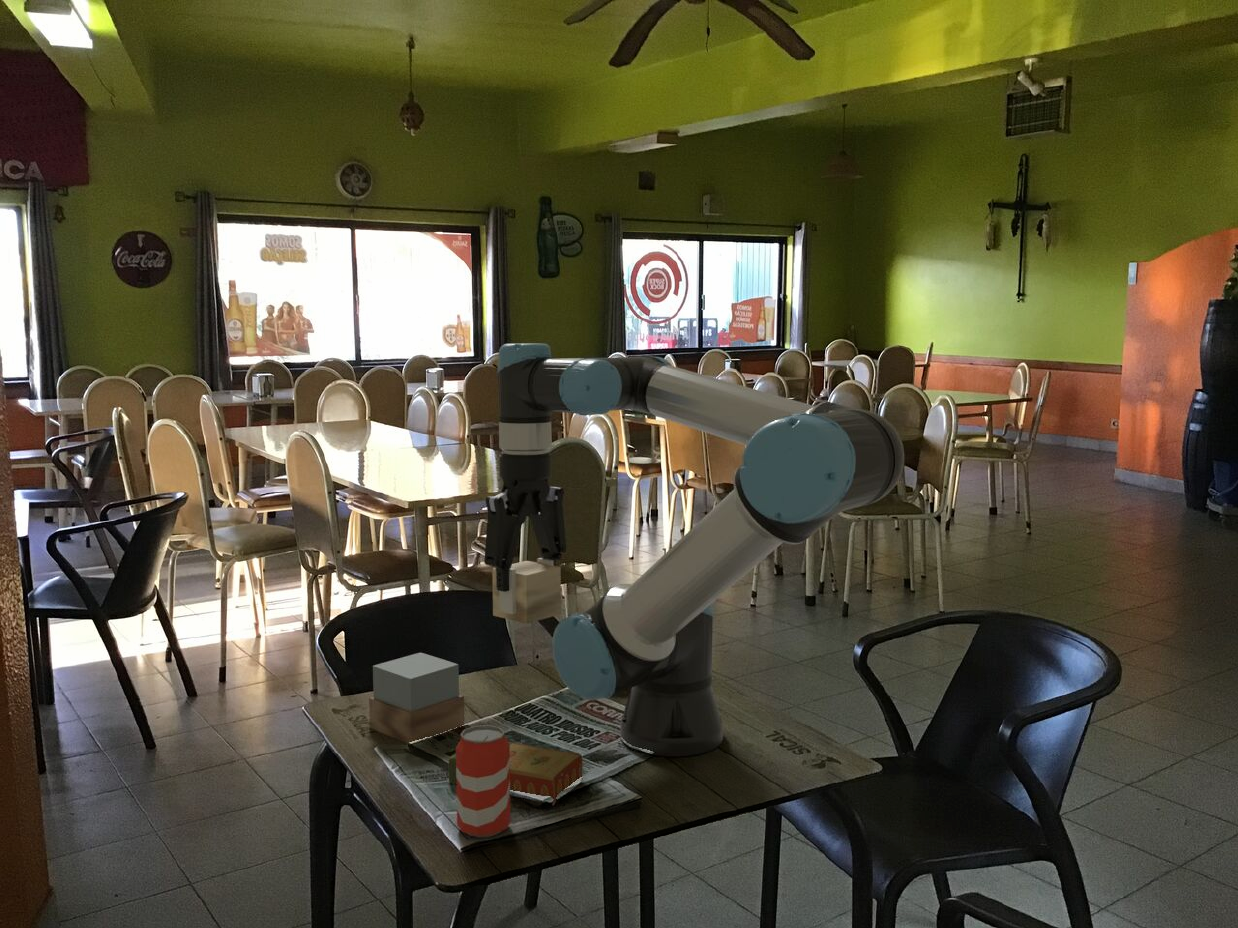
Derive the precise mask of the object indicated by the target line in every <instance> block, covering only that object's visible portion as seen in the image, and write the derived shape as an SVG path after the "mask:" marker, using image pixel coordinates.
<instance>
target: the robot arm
mask: <svg viewBox="0 0 1238 928" xmlns="http://www.w3.org/2000/svg"><path fill="white" fill-rule="evenodd" d="M496 376H497V385H498V386H497V387H498V388H497V393H498V436H499V437H498V439H499V440H498V441H499V442H498V443H499V444H498V445H499V446H498V447H499V449H501V451H503V452H501V453H500V454H499V457H498V459H499V461H498V463H499V471H498V472H499V477H500V479H501V480H502V488H501V491H500V493H499V494H496V495H495V496H493V495H487V496H486V497H485V505H486V511H487V521H486V533H485V534H486V535H485V545H484V561H483V562H484V564H485V565H486V566H489V567H492V568H496V580H497V581H496V587H497V590H498V591H499V605H500V612H504V613H509V614H516V569H514V568H511V566H512V564H513V562H514V557H515V553H516V549H517V545H518V542H519V537H520V533H521V528H522V525H523V524H525V522H526V519H527V517H528V518H529V519H530V522H531V525H532V528H533V531H534V535H535V538H536V541H537V546H538V548H539V552H540V555H541V557H538V558H536V563H541V564H546V565H552V566H557V560H561V559H562V557H563V554H564V553H566V551H567V541H566V530H565V520H564V519H565V517H564V508H563V507H564V506H563V505H564V504H563V502H564V496H565V489H564V488H563V487H558V486H550V483H549V479H550V478H551V477H552V476H553V475H552V473H553V470H552V468H553V466H552V464H553V463H552V461H553V460H552V454H551V452H549V450H550V449H551V448H552V446H553V442H552V437H553V436H552V412H553V413H555V412H556V413H566V414H567V413H568V414H576V415H579V416H585V417H586V416H597V415H600V416H601V415H606V414H607V413H609V412H611V411H612V412H613V411H625V410H633V411H634V410H635V411H638V412H641V413H644V414H647V415H651V416H653V417H657V418H661V419H664V420H667V421H670V422H673V423H676V424H679V425H682V426H685V427H689V428H691V429H694V430H697V431H700V432H704V433H706V434H708V435H709V434H710V435H713V436H716V437H718V438H722V439H725V440H727V441H731V442H734V443H737V444H740V445H743V446H745V448H744V450H743V453H742V455H741V456H742V457H741V459H742V462H743V463H742V464H741V465H739V467H737V468H736V470H735V471H734V474H733V478H732V479H733V490H732V491H731V492H730V493H728V494H727V495H726V496H725V497H724V498H723V499H722V500H721V501H719V503H718V504H716V506H715V507H713V508H712V509H711V510H710V511H709V512H708V513H707V514H705V516H703V518H702V519H701V520H699V521H698V522H697V523H696V524H695V525H694V526H693V527H692V528H690V530H689V531H688V532H687V533H686V534H685V535H684V536H682V537H681V538H680V539H679V540H678V541H676V543H675V544H674V545H673V546H671V547H670V549H668V551H666V552H665V553H664V554H663V555H662V556H661V557H660V558H659V559H658V560H657V561H656V562H655V563H653V565H651V566H650V567H649V568H648V569H647V570H646V571H645V572H644V573H643V574H641V575H640V577H638V578H637V579H636V580H635V581H634V582H633V583H632V584H630V583H622V584H621V583H620V584H617V585H615V586H613V587H612V588H610V589H609V590H608V591H607V592H606V593H605V594H603V596H601V597H600V598H599V599H598V600H597V601H596V602H595V603H594V604H593V605H592V606H591V607H590V608H588V609H586V610H585V611H583V612H580V613H579V612H578V613H577V612H574V613H572V614H569V616H567V617H564V618H563V619H562V620H560V621H559V623H558V624H557V625H556V627H555V629H554V632H553V635H552V644H551V646H552V650H553V652H552V658H553V661H554V664H555V668H556V671H557V673H558V675H559V677H560V679H561V680H562V682H563V683H564V685H565V686H566V687H567V688H568V690H569V691H570V692H571V693H572V694H574V695H575V696H578V697H580V698H582V699H584V700H585V701H597V700H601V699H608V698H611V697H612V696H613V695H616V694H619V693H621V692H624V691H627V690H628V689H630V691H629V692H630V693H629V695H628V698H627V701H626V704H625V706H624V707H625V708H624V710H623V713H622V716H621V719H620V728H619V731H620V732H619V733H620V734H621V737H622V738H623V739H624V740H625V741H626V742H627V743H629V744H631V745H632V746H635V747H638V748H642V749H647V750H650V751H653V752H654V753H653V755H654V756H660V757H661V756H663V757H686V756H687V757H688V756H695V755H700V754H703V753H707V752H709V751H712V750H715V749H716V748H717V747H718V748H719V746H720V745H721V744H722V743H723V740H724V723H723V721H722V717H721V716H720V712H719V708H718V705H717V700H716V698H715V694H714V691H713V686H712V683H713V682H712V680H713V679H712V677H713V676H712V675H713V673H712V672H713V671H712V670H713V631H714V630H713V625H714V623H713V620H714V617H715V614H714V612H713V611H714V610H713V603H714V602H715V601H716V600H717V599H719V597H721V596H722V595H724V593H726V592H727V591H728V590H730V589H731V588H732V587H733V586H734V585H735V584H736V583H737V582H739V580H741V579H742V578H743V577H744V576H746V575H747V574H748V573H749V572H751V570H753V569H754V568H755V567H756V566H757V565H758V564H760V563H761V562H762V561H763V560H764V559H766V558H767V556H768V555H771V553H773V552H774V551H775V549H777V548H778V547H780V545H782V544H787V545H799V544H802V543H803V542H805V541H807V540H808V539H809V538H810V537H811V536H813V535H814V534H815V533H816V532H817V531H819V530H820V529H821V528H822V527H823V526H825V525H826V524H827V523H828V522H829V521H830V520H831V521H832V519H833V518H834V517H836V516H837V515H839V514H840V513H843V512H844V511H846V510H853V509H855V508H860V507H865V506H868V505H871V504H874V503H876V502H879V501H880V500H882V499H883V498H885V497H886V496H887V495H888V494H890V492H891V491H892V490H893V489H894V488H895V487H896V486H897V484H898V482H899V481H900V478H901V476H902V473H903V470H904V466H905V449H904V444H903V442H902V439H901V436H900V434H899V433H898V431H897V429H896V428H895V427H894V426H893V425H892V423H890V422H889V420H887V419H886V418H884V417H883V416H882V415H880V414H878V413H875V412H874V411H870V410H867V409H861V408H856V407H852V406H851V407H850V406H847V405H842V404H839V403H834V402H831V401H822V402H819V403H818V404H816V405H812V404H808V403H805V402H802V401H797V400H794V399H791V398H787V397H784V396H781V395H776V394H772V393H769V392H765V391H761V390H760V389H759V390H758V389H754V388H752V387H748V386H744V385H740V384H738V383H735V382H734V383H733V382H731V381H726V380H723V379H719V378H717V377H713V376H709V375H706V374H702V373H699V372H694V371H691V370H687V369H684V368H680V367H677V366H673V365H672V364H671V362H669V361H668V360H667V359H665V358H663V357H660V356H653V355H645V354H642V355H638V356H624V357H623V356H622V357H587V358H586V357H584V358H583V357H582V358H579V357H577V358H576V357H575V358H574V357H573V358H568V357H567V358H561V357H560V358H554V357H553V356H552V353H551V347H550V345H549V344H547V343H534V342H532V343H531V342H530V343H529V342H528V343H527V342H526V343H523V342H522V343H505V344H503V345H501V346H500V347H499V350H498V361H497V371H496Z"/></svg>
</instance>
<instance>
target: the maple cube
mask: <svg viewBox="0 0 1238 928" xmlns="http://www.w3.org/2000/svg"><path fill="white" fill-rule="evenodd" d="M511 568H514V569H516V614H509V613H504V612H500V605H499V591H498V590H497V587H496V581H497V580H496V568H495V567H492V569H491V570H492V573H491V575H492V578H491V579H492V616H494V617H497V618H498V617H499V618H503V619H507V620H510V621H514V622H518V623H522V624H526V625H527V624H532V623H533V622H537V621H540V620H541V621H542V620H544V619H548V618H551V617H555V616H559V615H561V614H562V600H561V599H562V596H561V595H562V592H561V591H562V588H561V587H562V586H561V584H562V583H561V580H562V579H561V578H562V577H561V566H557V565H556V566H552V565H546V564H541V563H537V561H532V560H531V561H530V560H524V561H519V562H516V563H512V566H511Z"/></svg>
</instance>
